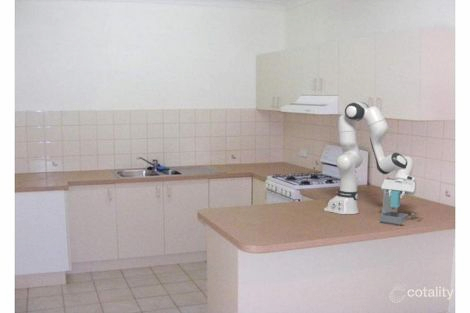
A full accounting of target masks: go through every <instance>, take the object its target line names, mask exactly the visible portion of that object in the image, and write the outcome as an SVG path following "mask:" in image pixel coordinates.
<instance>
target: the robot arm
mask: <svg viewBox="0 0 470 313" xmlns="http://www.w3.org/2000/svg"><path fill="white" fill-rule="evenodd" d="M361 120H364V121H365V122H366V125H367V128H368V130H369V133H370V138H369V139H370V145H371V148H372V152H373V155H374V158H375V163H376V169H377V171H378V172H380V173H381V174H383V175H388V174H390V173H392V172H394V171H395V175H394V178H388V177H387V178H385V179H384V180H383V182H382V184H381V186H380V189H381V191H382V192H383V193H384V192H389V194H390V195H389V198H391V191H401V195H399V199H400V200H402V199H403V198H404V197H405V196H406V195H411V196H414V195H415V194H416V193H417V192H416V190H417V181H416V179H415V177H413V176H411V175H412V173H413V170H414V165H415V163H414V159H413V158H412V157H410V156H408V155H402V154H400V153H398V152H394V153H391V154H389V155H388V156H385V153H384V149H383V146H382V141H383V139H384V138H385V136H386V135H387V134H388V131H389V124H388V122H387V120H386V119H385V116H384V114H383V113H382V111H381V109H379V107H378V106H375V105H371V106H369V105H368V104H367V103H366V102H361V101H356V102H350V103H349V104H347V105H346V107H345V109H344V114H342V115H339V117H338V121H337V122H338V123H337V133H338V134H337V135H338V143H339V144H338V145H339V146H340V148H341V151H342V153H343V154H340V155H339V156H338V157H337V159H336V162H335V164H336V167H337V168H338V172H339V189H338V190H337V191H335V194H336V195H335V196H334V197H333V198H331V199H329V200H328V201H327V202H328V203H327V206H326V207H324V208H323V211H325V212H329V213H334V214H339V215H357V214H359V206H358V199H359V198H358V197H359V195H358V194H359V192H358V183H359V182H358V181H359V180H358V177H357V174H356V169H357V168H359V167H360V166H361V165H362V163H363V160H364V159H363V156H362V154H361V152H360V148H359V145H358V141H357V130H356V122H359V121H361Z"/></svg>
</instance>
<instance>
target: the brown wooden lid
mask: <svg viewBox="0 0 470 313" xmlns="http://www.w3.org/2000/svg"><path fill="white" fill-rule="evenodd" d="M423 220H425V217H422V216H415V213H414V212H411V213H410V215H409V214H408V220H407V221H412V222H421V221H423Z"/></svg>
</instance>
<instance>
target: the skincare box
mask: <svg viewBox="0 0 470 313" xmlns="http://www.w3.org/2000/svg"><path fill="white" fill-rule="evenodd" d="M389 195H390V194H389V192H383V199H382V208H381V210H382V211H381V214H383V213H385V212H387V211H389V212H396V213H398V208H399V207H390V201H391V198H389Z"/></svg>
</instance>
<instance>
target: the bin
mask: <svg viewBox="0 0 470 313" xmlns="http://www.w3.org/2000/svg"><path fill="white" fill-rule="evenodd" d="M408 215H409V214H408V213H404V212H403V213H402V212H397V213H396V212H389V211H387V212H383V213H381V214H380V216H379V224H383V225H390V226H394V227H402V226H403V223H405V222H407V221H409V220H408Z"/></svg>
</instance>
